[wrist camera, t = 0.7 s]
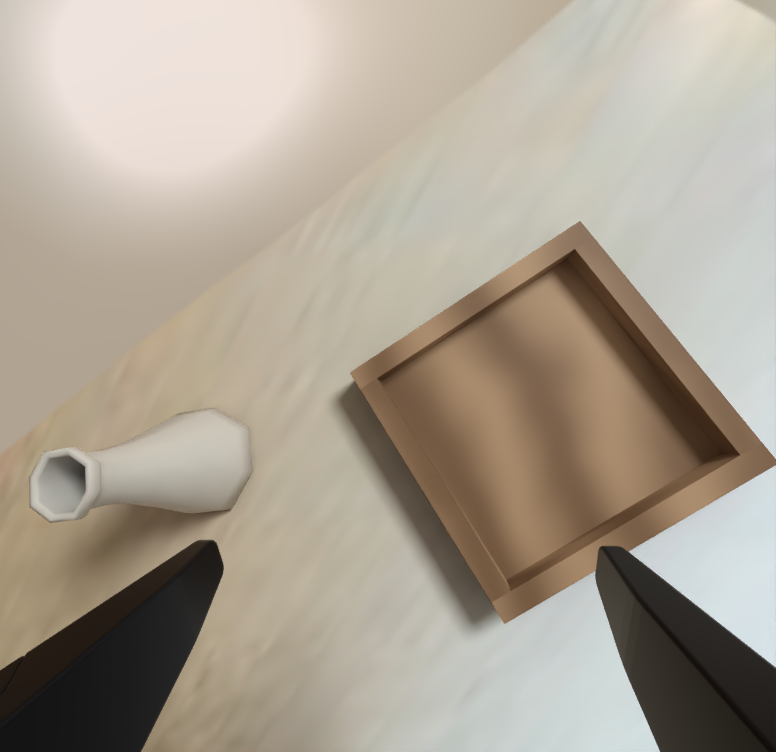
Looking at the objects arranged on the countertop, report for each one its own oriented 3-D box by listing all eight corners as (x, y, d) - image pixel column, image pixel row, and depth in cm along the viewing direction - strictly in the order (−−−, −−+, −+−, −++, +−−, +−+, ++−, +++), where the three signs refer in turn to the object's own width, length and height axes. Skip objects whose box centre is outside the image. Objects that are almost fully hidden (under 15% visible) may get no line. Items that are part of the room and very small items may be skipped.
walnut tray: (498, 603, 22) (504, 623, 20) (358, 376, 25) (349, 372, 22) (744, 458, 21) (778, 463, 19) (567, 239, 24) (580, 220, 21)
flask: (243, 524, 25) (110, 594, 15) (149, 501, 26) (-31, 551, 16) (265, 417, 25) (152, 416, 16) (172, 398, 27) (13, 387, 17)
